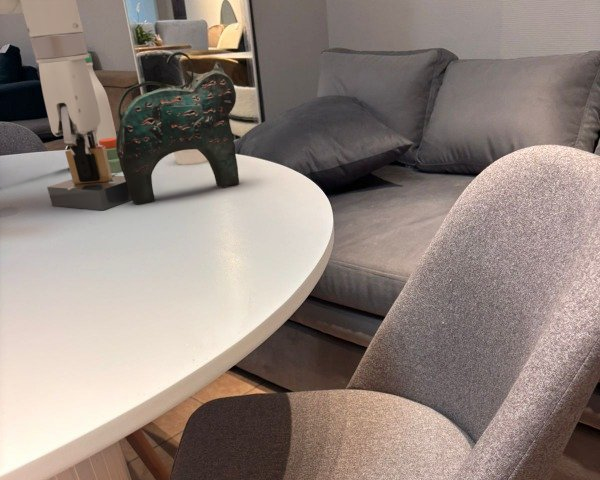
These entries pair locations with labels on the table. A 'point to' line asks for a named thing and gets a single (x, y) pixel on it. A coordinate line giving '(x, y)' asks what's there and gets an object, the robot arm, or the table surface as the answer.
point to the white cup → (189, 157)
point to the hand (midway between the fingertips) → (92, 178)
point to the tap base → (90, 194)
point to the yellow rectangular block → (100, 161)
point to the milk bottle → (101, 106)
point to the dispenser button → (108, 143)
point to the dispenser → (113, 160)
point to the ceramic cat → (177, 129)
